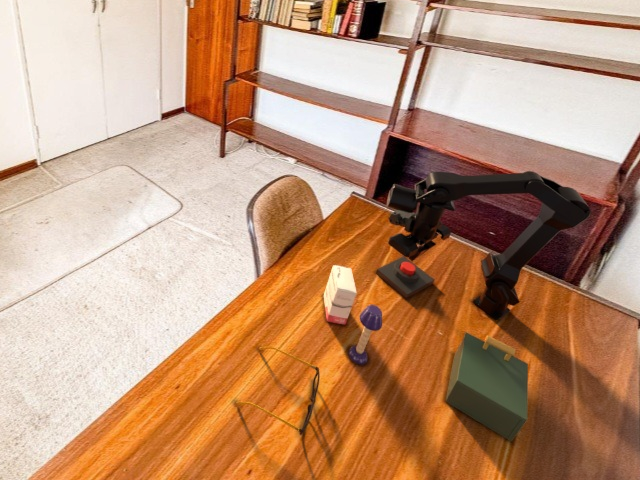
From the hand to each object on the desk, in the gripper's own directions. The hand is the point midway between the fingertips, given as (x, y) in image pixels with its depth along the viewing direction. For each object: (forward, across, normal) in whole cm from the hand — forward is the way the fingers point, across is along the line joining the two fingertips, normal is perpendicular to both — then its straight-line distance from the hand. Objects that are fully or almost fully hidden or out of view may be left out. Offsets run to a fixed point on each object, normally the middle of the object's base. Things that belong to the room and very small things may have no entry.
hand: (411, 259), depth 113 cm
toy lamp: (+8, +32, +11) cm, 35 cm away
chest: (+8, +14, +29) cm, 33 cm away
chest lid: (+1, +14, +29) cm, 32 cm away
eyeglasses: (+8, +54, +9) cm, 55 cm away
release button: (+4, 0, 0) cm, 4 cm away
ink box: (+8, +27, -1) cm, 28 cm away
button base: (+7, 0, 0) cm, 7 cm away
